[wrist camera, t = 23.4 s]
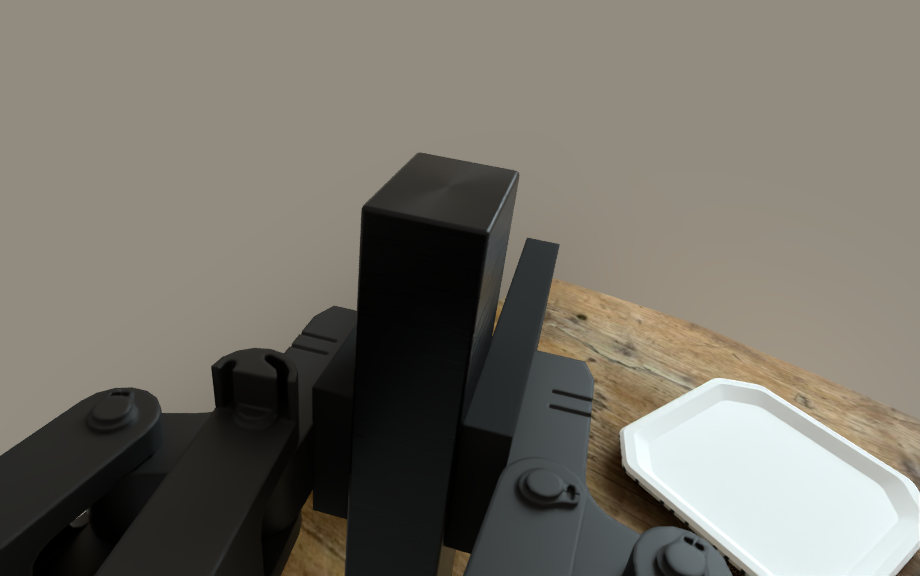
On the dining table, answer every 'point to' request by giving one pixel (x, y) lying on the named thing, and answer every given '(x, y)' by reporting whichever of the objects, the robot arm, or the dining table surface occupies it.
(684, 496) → the plate
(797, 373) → the dining table surface
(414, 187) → the knife
